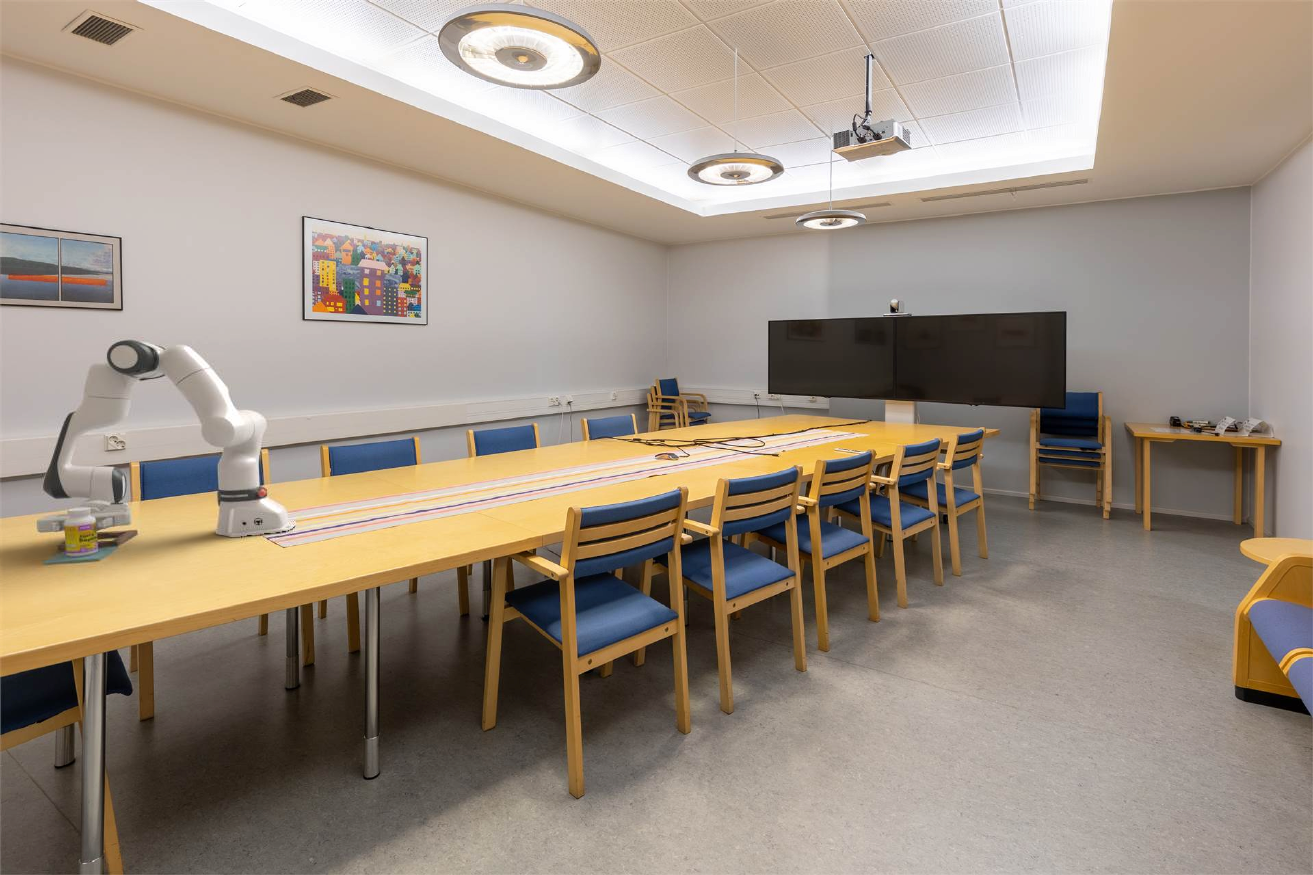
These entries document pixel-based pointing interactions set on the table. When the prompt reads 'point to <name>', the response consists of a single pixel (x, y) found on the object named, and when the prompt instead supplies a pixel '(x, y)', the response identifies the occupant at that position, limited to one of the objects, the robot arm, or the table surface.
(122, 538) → the brown wooden square frame
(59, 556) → the teal mat
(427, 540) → the table surface
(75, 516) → the supplement bottle
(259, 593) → the table surface
